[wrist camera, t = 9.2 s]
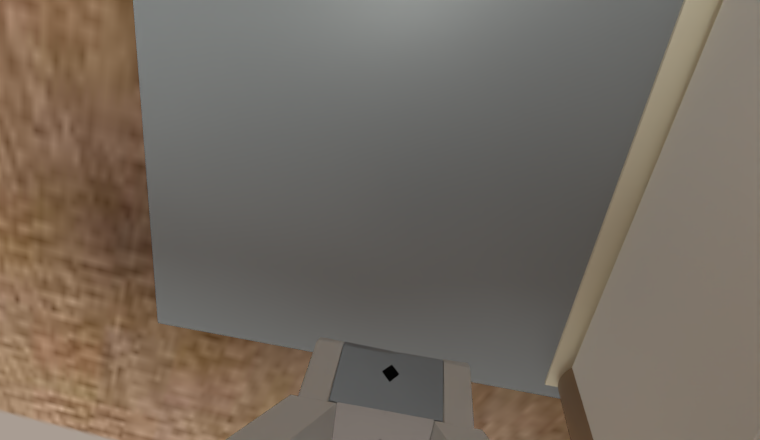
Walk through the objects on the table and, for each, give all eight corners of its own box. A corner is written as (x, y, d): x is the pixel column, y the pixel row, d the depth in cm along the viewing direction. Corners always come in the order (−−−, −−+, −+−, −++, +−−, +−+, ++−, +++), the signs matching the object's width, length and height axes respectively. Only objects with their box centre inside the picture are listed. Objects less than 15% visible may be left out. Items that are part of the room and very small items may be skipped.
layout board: (1749, -220, 8) (1827, -231, 8) (1027, 476, 15) (1045, 492, 15) (114, -406, 9) (97, -424, 9) (164, 315, 17) (156, 325, 16)
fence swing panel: (723, -29, 10) (1127, -16, 4) (809, -15, 10) (1347, 19, 4) (550, 401, 15) (615, 686, 9) (606, 412, 15) (707, 707, 9)
